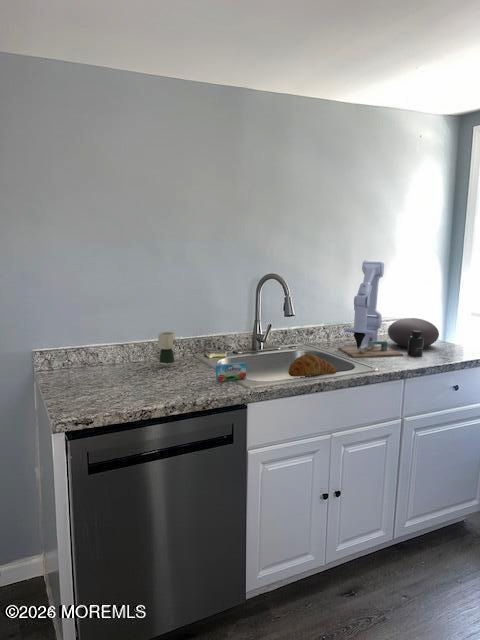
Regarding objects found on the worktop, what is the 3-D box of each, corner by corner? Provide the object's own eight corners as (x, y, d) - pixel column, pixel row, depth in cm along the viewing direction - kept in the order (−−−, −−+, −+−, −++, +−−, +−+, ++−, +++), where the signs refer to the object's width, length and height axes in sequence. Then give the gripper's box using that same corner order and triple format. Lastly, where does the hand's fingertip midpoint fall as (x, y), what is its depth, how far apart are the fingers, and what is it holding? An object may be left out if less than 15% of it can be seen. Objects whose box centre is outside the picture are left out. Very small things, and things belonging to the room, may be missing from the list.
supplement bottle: (420, 358, 217) (422, 332, 215) (405, 356, 221) (407, 331, 219) (424, 355, 222) (426, 330, 220) (409, 353, 226) (411, 329, 224)
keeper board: (338, 349, 233) (338, 338, 232) (384, 347, 237) (385, 337, 237) (353, 357, 215) (354, 346, 215) (403, 356, 220) (404, 345, 219)
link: (367, 346, 234) (368, 335, 233) (375, 347, 232) (375, 336, 231) (357, 352, 221) (358, 340, 221) (364, 353, 219) (365, 341, 219)
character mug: (177, 365, 196) (177, 335, 194) (160, 366, 194) (160, 336, 192) (172, 359, 206) (172, 330, 204) (156, 360, 204) (156, 331, 202)
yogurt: (244, 377, 181) (244, 362, 180) (246, 378, 179) (246, 363, 178) (215, 380, 176) (215, 364, 175) (217, 381, 174) (217, 365, 173)
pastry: (295, 380, 179) (296, 360, 178) (280, 371, 191) (280, 352, 189) (341, 375, 187) (342, 355, 185) (323, 367, 198) (324, 348, 197)
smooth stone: (376, 343, 247) (378, 316, 245) (412, 340, 257) (414, 313, 255) (410, 354, 225) (413, 323, 222) (448, 350, 235) (451, 321, 232)
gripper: (342, 319, 221) (341, 348, 223) (373, 323, 213) (371, 352, 215) (347, 318, 227) (346, 345, 229) (377, 321, 219) (375, 349, 221)
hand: (358, 348), depth 223 cm, fingers closed
